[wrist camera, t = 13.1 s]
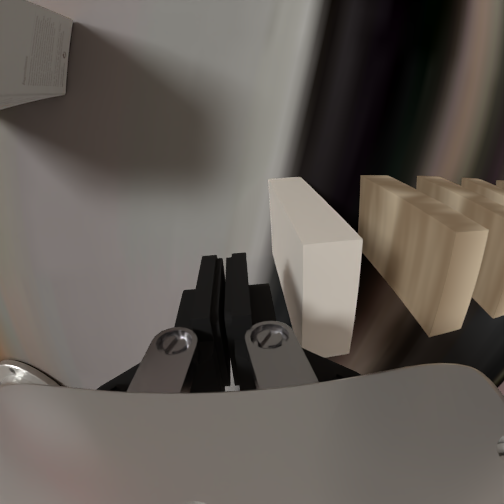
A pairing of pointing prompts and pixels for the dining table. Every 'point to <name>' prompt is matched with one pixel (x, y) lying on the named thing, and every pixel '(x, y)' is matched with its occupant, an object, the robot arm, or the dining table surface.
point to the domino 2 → (421, 250)
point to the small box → (32, 52)
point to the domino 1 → (315, 266)
